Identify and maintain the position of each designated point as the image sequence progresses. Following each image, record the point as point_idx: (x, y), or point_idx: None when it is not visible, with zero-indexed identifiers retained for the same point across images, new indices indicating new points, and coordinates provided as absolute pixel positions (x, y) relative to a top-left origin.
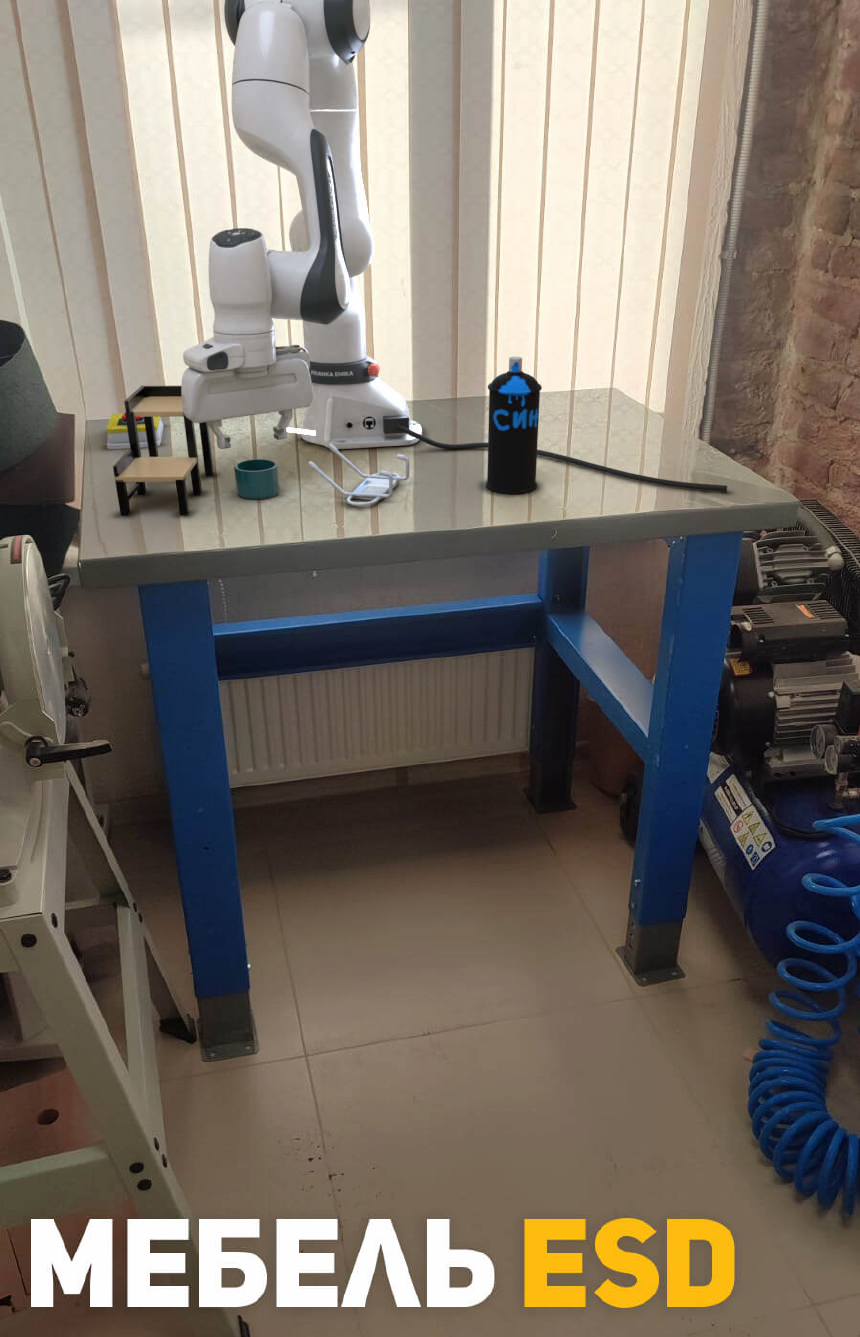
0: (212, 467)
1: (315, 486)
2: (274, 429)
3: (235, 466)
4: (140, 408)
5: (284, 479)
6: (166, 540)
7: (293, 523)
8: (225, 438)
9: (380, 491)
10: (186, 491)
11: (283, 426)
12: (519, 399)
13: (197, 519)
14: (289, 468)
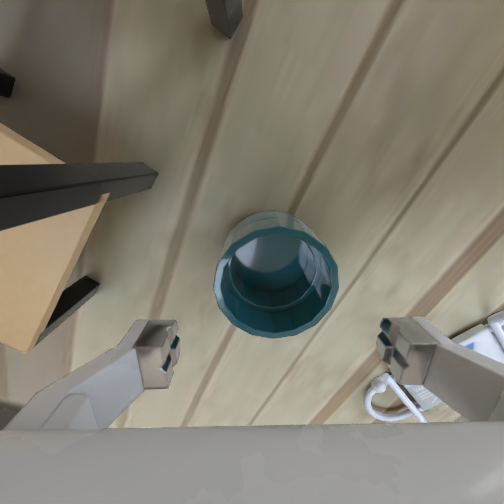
0: (236, 12)
1: (392, 280)
2: (402, 348)
3: (221, 266)
4: None
5: (374, 195)
6: (41, 373)
7: (247, 407)
8: (147, 386)
9: (438, 400)
10: (68, 310)
11: (433, 390)
12: None
13: (109, 319)
14: (447, 110)
